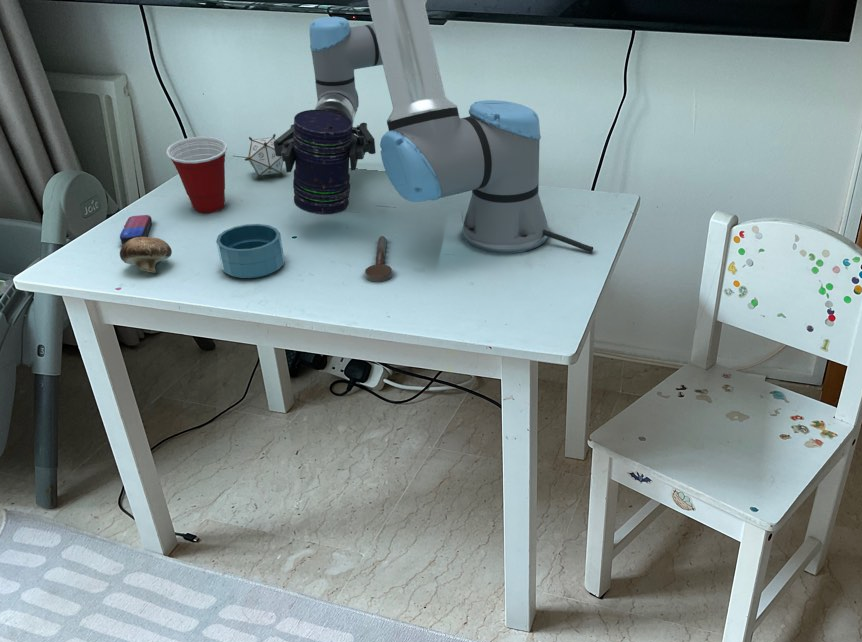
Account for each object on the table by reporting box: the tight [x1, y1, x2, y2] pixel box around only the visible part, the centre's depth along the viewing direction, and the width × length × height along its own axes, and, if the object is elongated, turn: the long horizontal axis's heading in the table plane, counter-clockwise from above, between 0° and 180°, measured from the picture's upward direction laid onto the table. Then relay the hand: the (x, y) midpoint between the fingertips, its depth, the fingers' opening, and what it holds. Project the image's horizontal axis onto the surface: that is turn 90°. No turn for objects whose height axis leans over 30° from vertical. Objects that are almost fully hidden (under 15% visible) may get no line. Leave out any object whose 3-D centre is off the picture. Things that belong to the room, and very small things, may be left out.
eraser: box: [119, 214, 153, 246], centre depth 161 cm, size 11×4×2 cm, turn 9°
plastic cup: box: [165, 136, 228, 214], centre depth 168 cm, size 11×11×12 cm
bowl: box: [215, 223, 285, 279], centre depth 150 cm, size 10×10×6 cm
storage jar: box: [292, 109, 352, 216], centre depth 155 cm, size 10×10×15 cm
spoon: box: [364, 235, 393, 283], centre depth 153 cm, size 15×4×1 cm, turn 4°
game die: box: [244, 133, 284, 181], centre depth 182 cm, size 9×8×10 cm
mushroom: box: [119, 236, 173, 274], centre depth 149 cm, size 8×8×6 cm
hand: (320, 163), depth 150 cm, fingers closed on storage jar, 10 cm apart
